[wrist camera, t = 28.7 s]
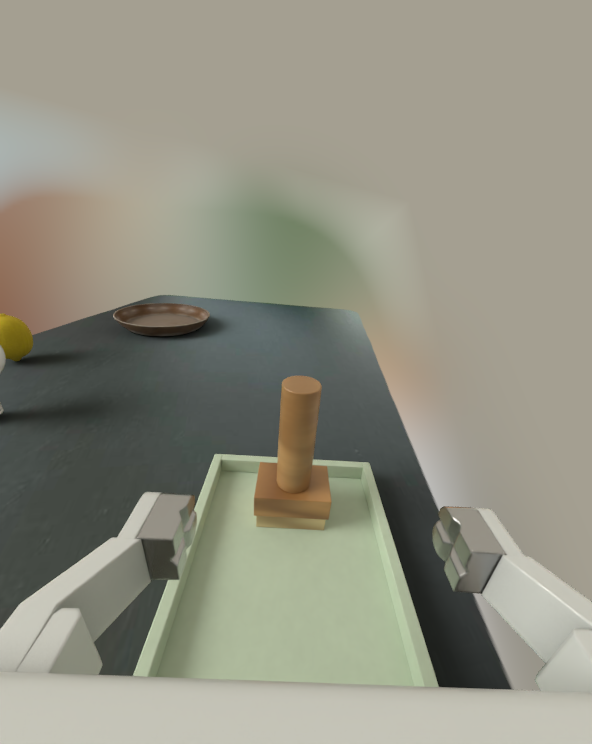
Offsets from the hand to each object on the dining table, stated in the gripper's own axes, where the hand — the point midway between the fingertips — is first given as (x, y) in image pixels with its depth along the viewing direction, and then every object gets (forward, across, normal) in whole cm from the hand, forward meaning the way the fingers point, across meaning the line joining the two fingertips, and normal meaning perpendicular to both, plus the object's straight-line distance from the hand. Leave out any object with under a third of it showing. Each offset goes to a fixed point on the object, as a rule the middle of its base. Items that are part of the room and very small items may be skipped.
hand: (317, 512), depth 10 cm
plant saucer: (+63, +32, +14) cm, 72 cm away
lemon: (+39, +46, +14) cm, 62 cm away
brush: (+12, 0, +14) cm, 18 cm away
